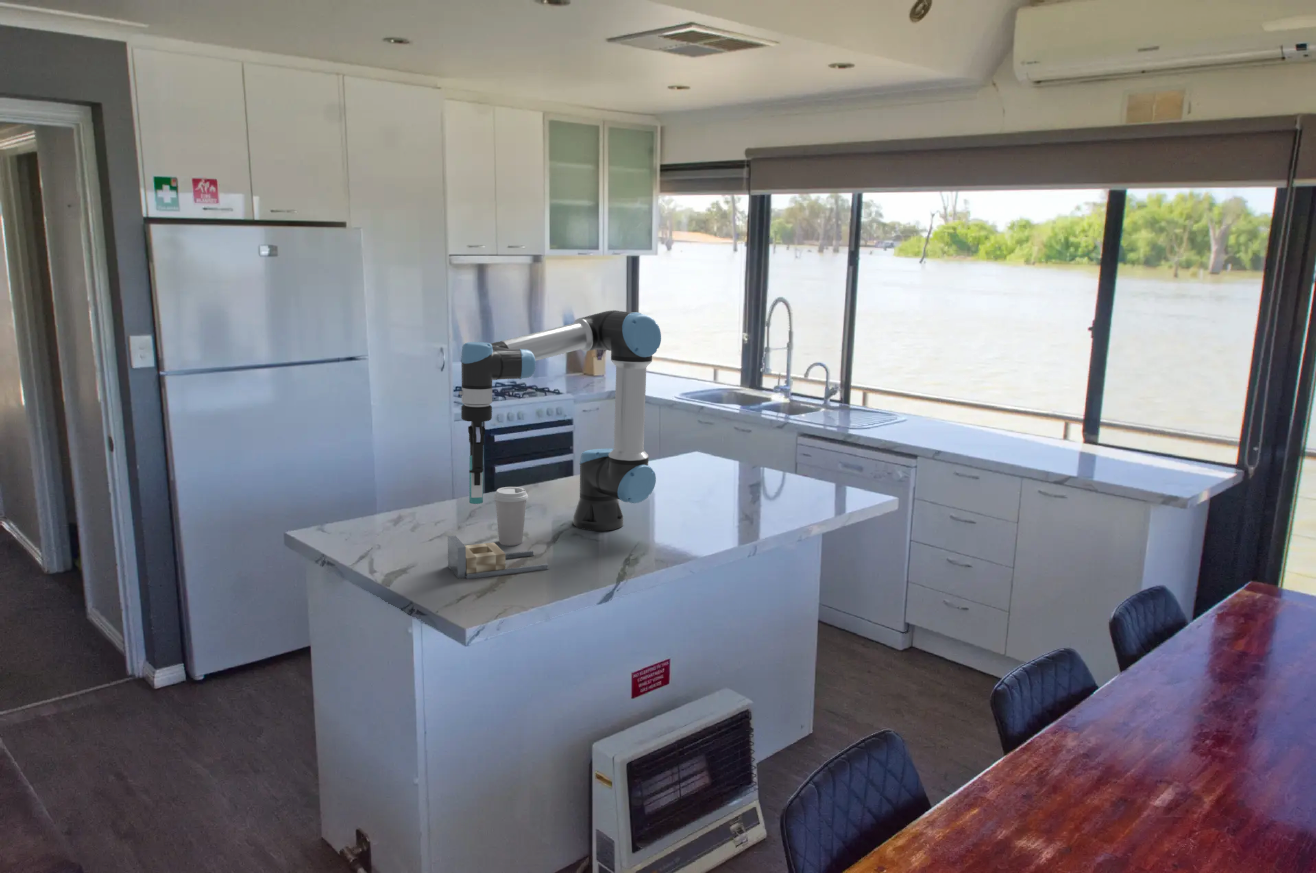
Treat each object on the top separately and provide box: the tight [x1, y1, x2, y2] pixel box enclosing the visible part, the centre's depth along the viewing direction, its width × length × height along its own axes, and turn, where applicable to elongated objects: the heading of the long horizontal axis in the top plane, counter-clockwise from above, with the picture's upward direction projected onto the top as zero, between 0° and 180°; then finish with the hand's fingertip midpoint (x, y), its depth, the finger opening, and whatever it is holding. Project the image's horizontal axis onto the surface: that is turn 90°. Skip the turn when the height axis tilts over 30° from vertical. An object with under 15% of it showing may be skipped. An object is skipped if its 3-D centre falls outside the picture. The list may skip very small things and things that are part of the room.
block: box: [464, 542, 506, 574], centre depth 238 cm, size 10×10×5 cm
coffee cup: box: [493, 486, 529, 547], centre depth 260 cm, size 10×10×15 cm
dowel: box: [468, 455, 484, 505], centre depth 236 cm, size 3×3×12 cm
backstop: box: [447, 535, 549, 580], centre depth 239 cm, size 23×12×8 cm, turn 116°
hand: (476, 494), depth 237 cm, fingers closed on dowel, 3 cm apart
